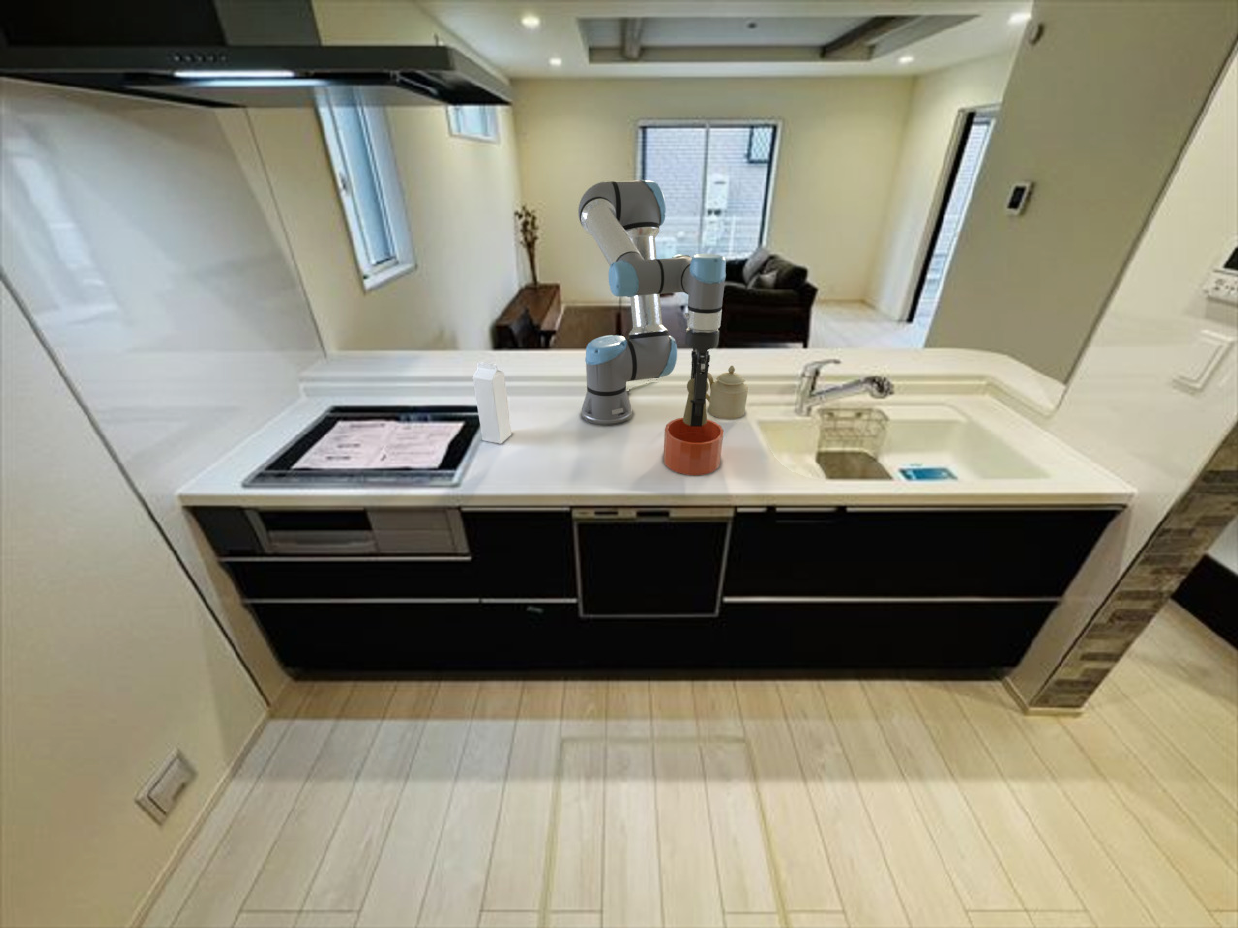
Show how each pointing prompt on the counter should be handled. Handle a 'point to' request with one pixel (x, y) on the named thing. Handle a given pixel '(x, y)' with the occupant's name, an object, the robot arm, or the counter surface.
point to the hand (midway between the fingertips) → (695, 419)
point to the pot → (692, 447)
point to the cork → (689, 405)
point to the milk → (492, 403)
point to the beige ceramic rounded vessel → (727, 395)
